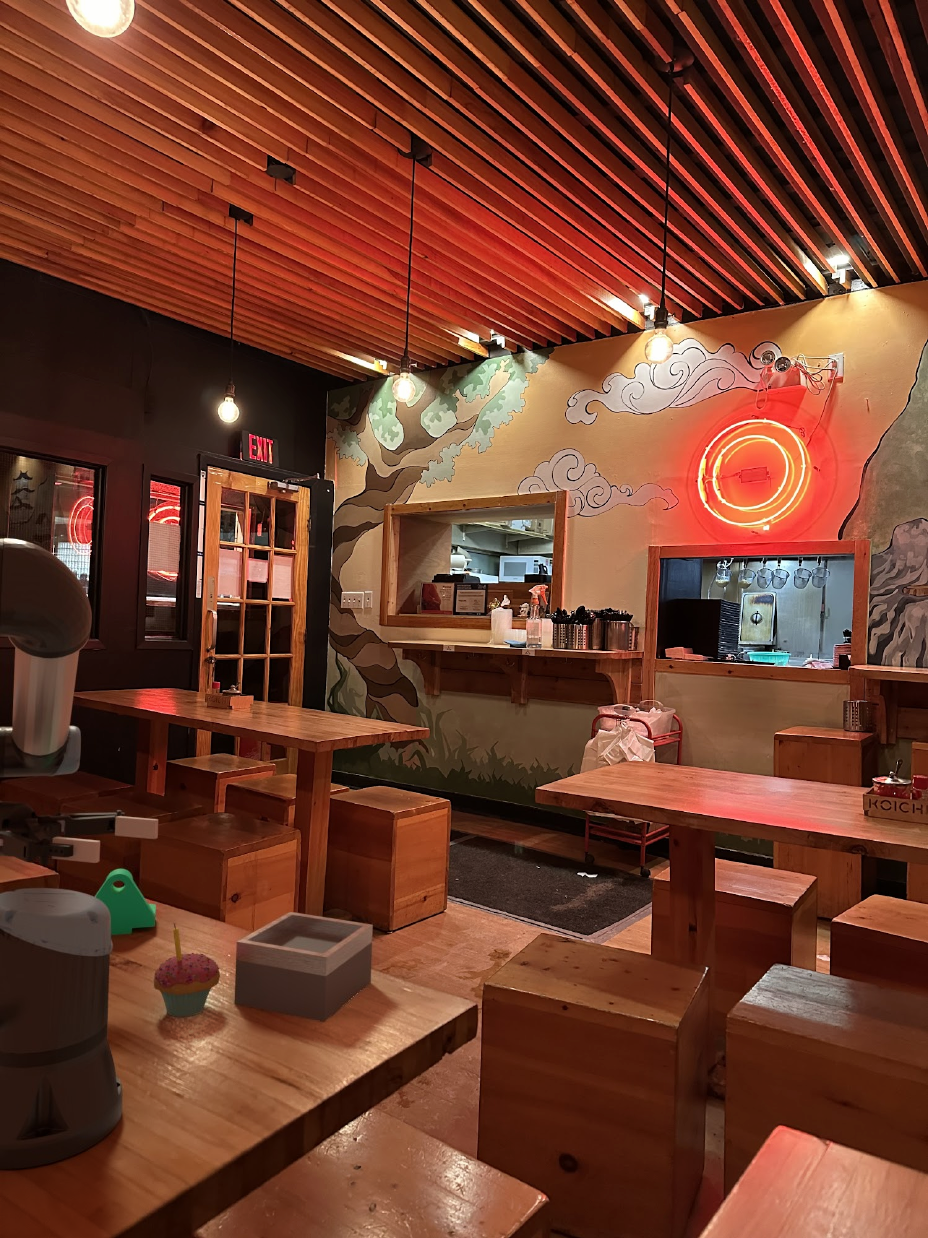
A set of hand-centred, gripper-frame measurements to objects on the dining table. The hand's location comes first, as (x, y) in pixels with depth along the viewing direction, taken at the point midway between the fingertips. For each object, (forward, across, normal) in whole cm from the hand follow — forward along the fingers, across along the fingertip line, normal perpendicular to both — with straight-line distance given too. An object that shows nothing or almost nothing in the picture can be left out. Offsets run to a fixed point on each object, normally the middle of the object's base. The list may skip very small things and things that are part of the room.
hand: (129, 840), depth 118 cm
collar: (+23, -9, -16) cm, 29 cm away
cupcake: (+10, 0, -22) cm, 24 cm away
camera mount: (-18, -26, -23) cm, 39 cm away
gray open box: (+23, -9, -22) cm, 33 cm away
